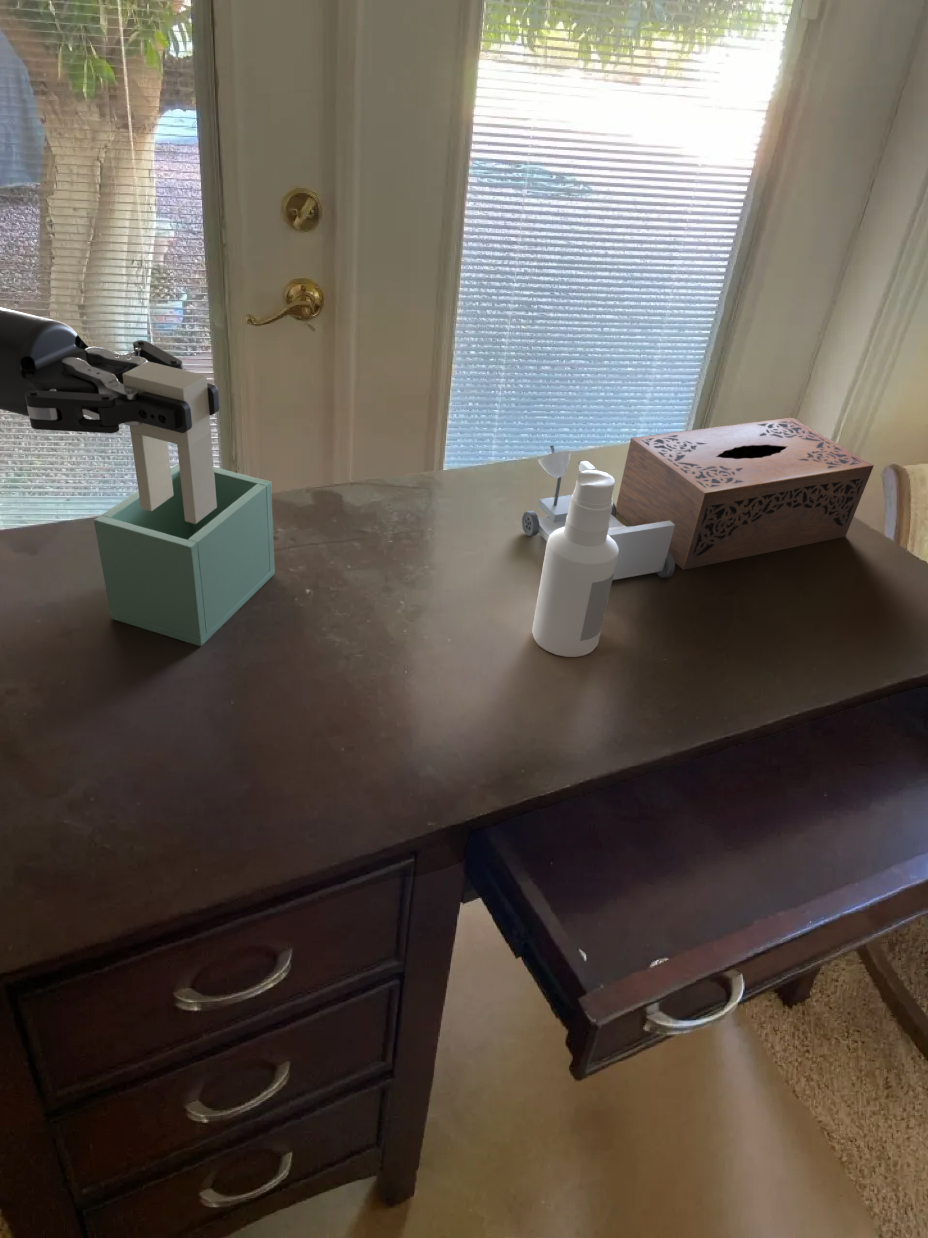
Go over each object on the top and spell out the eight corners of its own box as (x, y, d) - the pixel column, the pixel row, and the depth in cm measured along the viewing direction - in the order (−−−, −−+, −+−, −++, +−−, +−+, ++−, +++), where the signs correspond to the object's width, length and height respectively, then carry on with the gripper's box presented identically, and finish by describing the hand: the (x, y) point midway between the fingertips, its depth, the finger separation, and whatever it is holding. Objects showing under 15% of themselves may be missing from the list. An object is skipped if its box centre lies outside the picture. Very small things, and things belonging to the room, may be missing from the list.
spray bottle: (608, 655, 88) (646, 495, 78) (543, 661, 87) (573, 498, 76) (584, 615, 94) (617, 460, 83) (523, 620, 92) (548, 462, 81)
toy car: (520, 444, 103) (605, 434, 108) (510, 517, 109) (591, 506, 113) (600, 519, 90) (692, 505, 95) (584, 598, 96) (671, 581, 100)
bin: (201, 647, 84) (190, 547, 77) (110, 618, 86) (93, 519, 79) (275, 574, 95) (271, 481, 88) (193, 550, 97) (183, 458, 90)
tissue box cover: (769, 484, 123) (791, 417, 117) (845, 536, 113) (873, 465, 107) (615, 510, 113) (631, 437, 107) (683, 569, 103) (705, 493, 97)
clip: (217, 507, 71) (206, 375, 65) (195, 524, 69) (182, 388, 62) (163, 492, 72) (147, 360, 66) (140, 508, 70) (122, 373, 63)
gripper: (-81, 338, 61) (136, 392, 57) (61, 288, 71) (250, 330, 68) (-53, 439, 65) (150, 496, 61) (76, 377, 76) (255, 422, 72)
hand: (201, 409), depth 65 cm, fingers closed on clip, 3 cm apart
